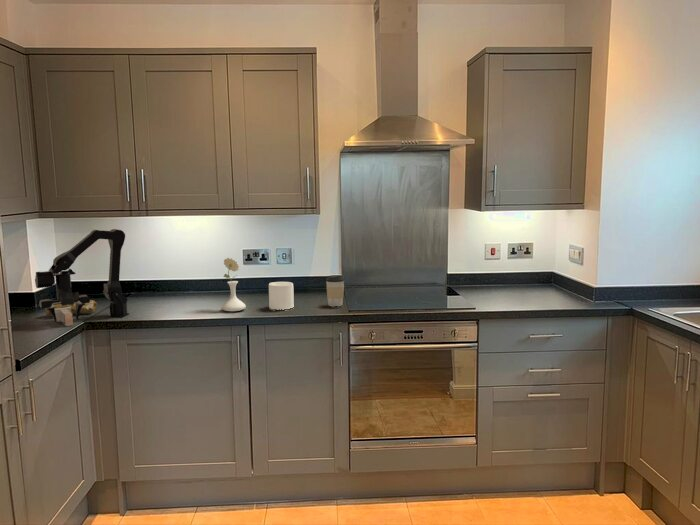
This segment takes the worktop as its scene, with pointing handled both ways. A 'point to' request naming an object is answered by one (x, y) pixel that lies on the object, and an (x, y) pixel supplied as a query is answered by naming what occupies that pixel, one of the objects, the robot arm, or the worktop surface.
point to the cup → (281, 295)
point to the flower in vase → (232, 289)
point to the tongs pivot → (57, 312)
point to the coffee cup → (335, 290)
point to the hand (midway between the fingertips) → (66, 320)
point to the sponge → (85, 308)
